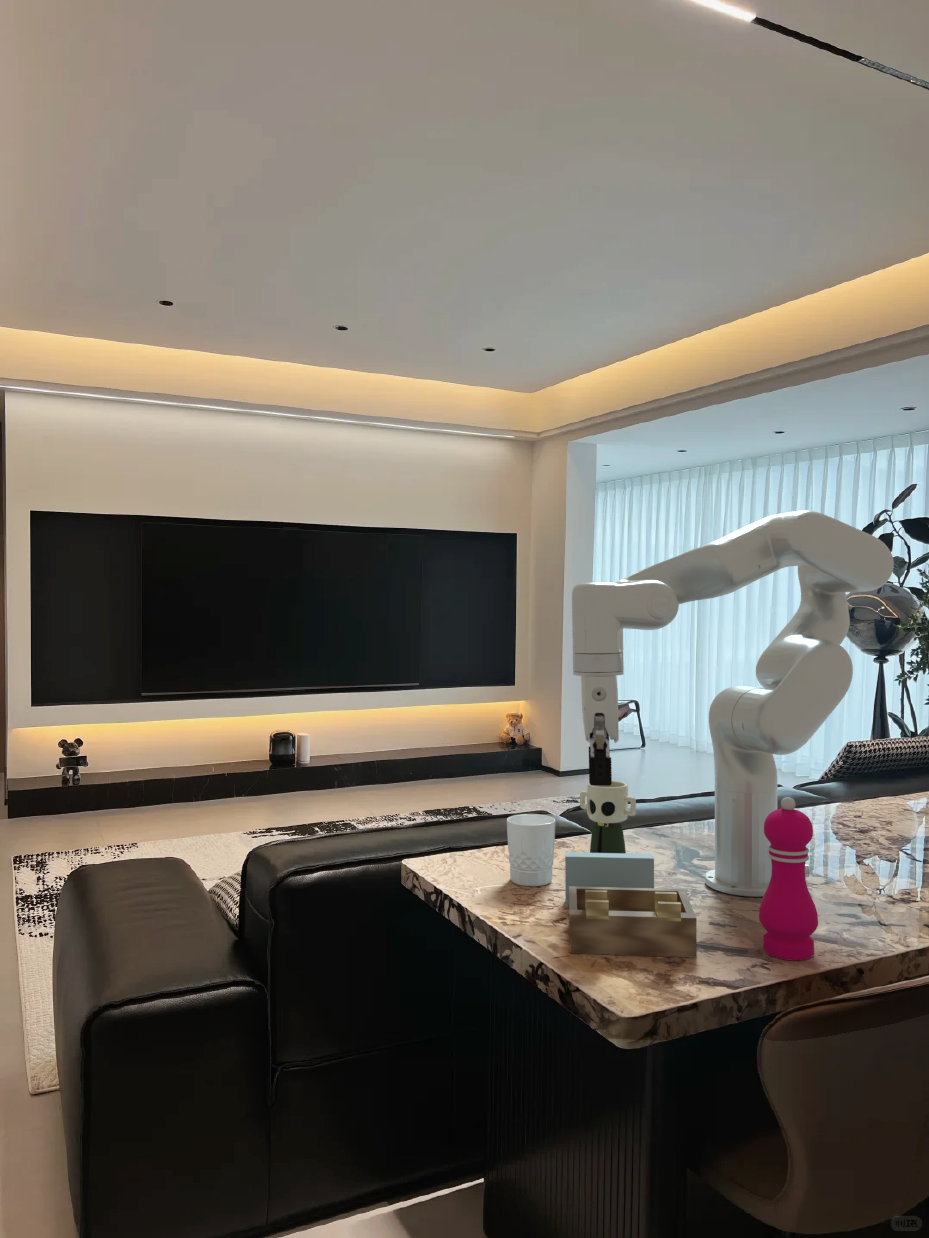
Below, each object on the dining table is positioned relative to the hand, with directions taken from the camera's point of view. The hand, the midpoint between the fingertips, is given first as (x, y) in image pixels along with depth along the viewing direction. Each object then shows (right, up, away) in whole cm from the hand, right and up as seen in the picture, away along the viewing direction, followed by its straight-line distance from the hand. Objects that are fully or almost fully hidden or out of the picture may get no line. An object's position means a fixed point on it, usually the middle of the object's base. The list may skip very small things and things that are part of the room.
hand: (599, 778), depth 140 cm
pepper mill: (+21, -19, -20) cm, 35 cm away
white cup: (-9, -19, +12) cm, 24 cm away
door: (+1, -19, -1) cm, 19 cm away
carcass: (+2, -19, -15) cm, 24 cm away
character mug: (+5, -18, +25) cm, 32 cm away
